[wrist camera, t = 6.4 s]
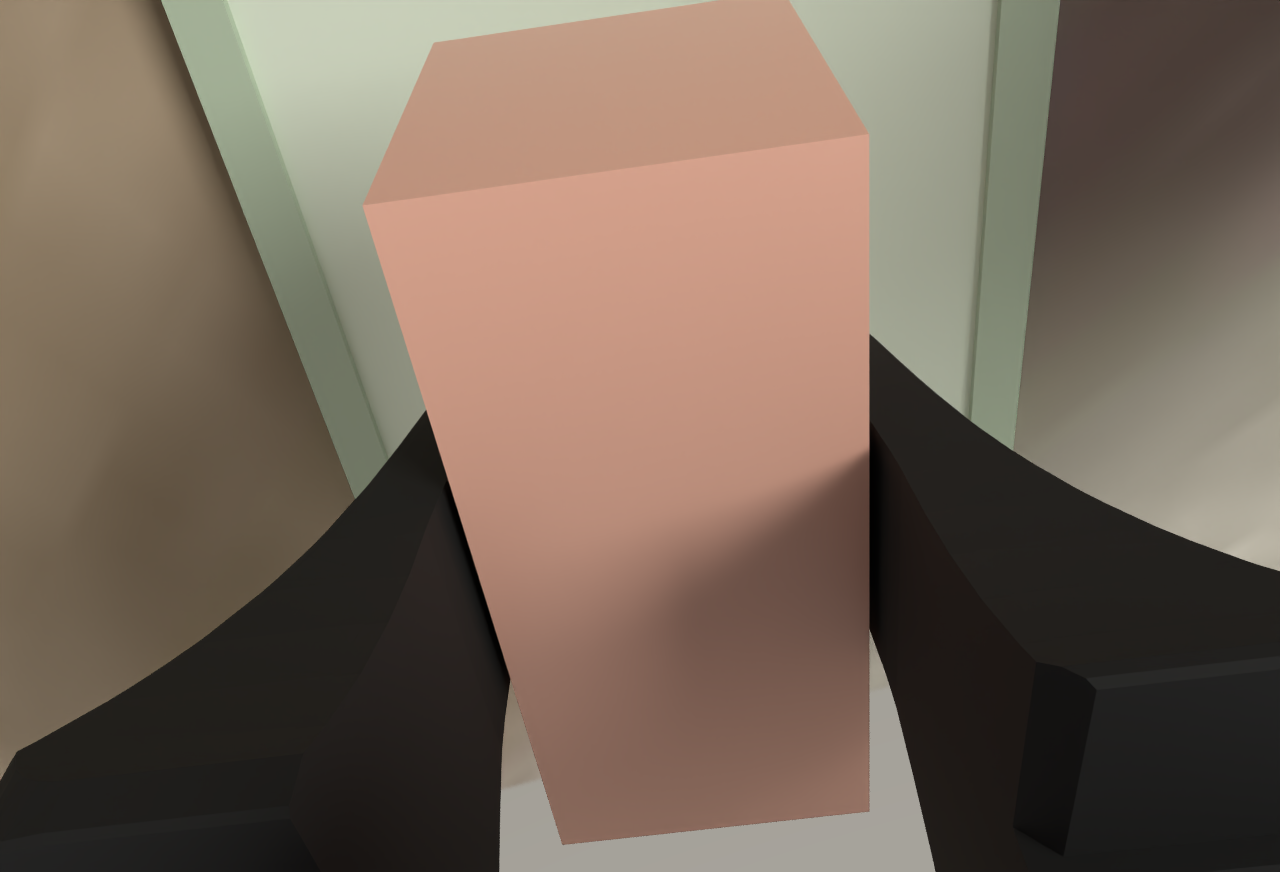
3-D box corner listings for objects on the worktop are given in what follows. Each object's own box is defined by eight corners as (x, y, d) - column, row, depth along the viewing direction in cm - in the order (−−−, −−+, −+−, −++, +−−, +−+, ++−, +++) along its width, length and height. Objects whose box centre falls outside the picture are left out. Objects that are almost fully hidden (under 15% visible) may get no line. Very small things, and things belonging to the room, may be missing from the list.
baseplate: (1084, -439, 15) (1106, -444, 14) (1000, 442, 24) (1011, 463, 24) (79, -271, 16) (57, -268, 15) (377, 520, 25) (371, 542, 24)
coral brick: (783, -10, 12) (869, 134, 8) (810, 567, 17) (870, 811, 13) (434, 42, 12) (361, 205, 8) (569, 597, 17) (562, 844, 13)
